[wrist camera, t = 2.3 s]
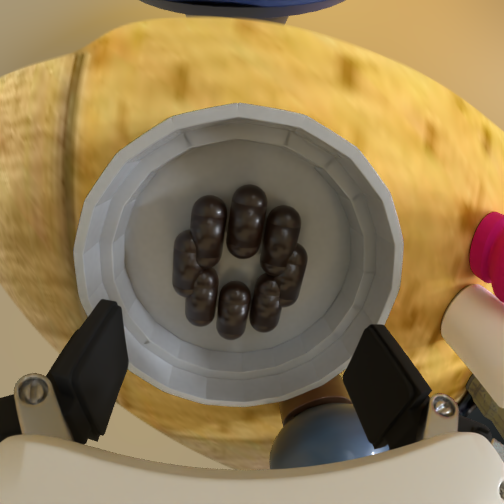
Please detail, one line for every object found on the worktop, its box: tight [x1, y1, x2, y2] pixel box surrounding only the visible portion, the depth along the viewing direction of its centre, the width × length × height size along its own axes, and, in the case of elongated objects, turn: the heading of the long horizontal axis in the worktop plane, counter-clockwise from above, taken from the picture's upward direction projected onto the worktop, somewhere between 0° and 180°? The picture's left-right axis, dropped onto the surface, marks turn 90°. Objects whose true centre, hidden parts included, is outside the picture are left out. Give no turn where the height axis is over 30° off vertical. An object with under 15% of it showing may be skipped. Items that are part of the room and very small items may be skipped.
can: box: [441, 284, 504, 408], centre depth 14 cm, size 6×6×12 cm
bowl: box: [73, 103, 404, 407], centre depth 14 cm, size 16×16×4 cm
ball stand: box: [269, 375, 389, 469], centre depth 16 cm, size 9×9×12 cm
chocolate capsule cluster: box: [172, 184, 308, 340], centre depth 15 cm, size 9×7×2 cm
